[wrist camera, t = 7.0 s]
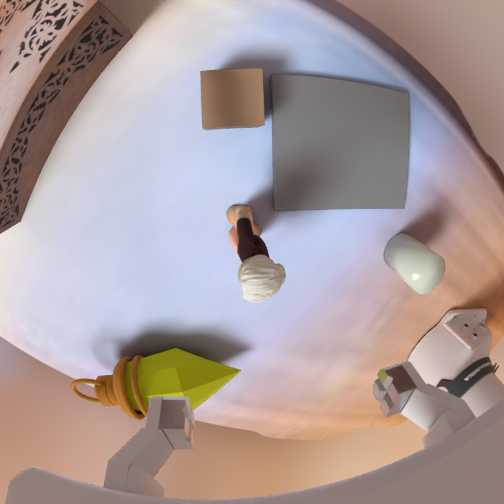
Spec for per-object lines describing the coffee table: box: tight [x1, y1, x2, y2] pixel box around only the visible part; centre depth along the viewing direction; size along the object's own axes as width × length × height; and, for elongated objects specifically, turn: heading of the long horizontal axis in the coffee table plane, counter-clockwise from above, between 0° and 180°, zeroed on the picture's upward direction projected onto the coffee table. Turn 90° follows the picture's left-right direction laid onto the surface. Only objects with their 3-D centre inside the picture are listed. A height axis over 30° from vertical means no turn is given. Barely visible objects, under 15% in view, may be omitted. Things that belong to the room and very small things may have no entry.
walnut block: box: [200, 69, 265, 130], centre depth 22 cm, size 5×5×5 cm
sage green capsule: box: [384, 233, 445, 294], centre depth 29 cm, size 5×5×7 cm
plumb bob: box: [71, 348, 241, 420], centre depth 32 cm, size 9×9×25 cm
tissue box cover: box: [0, 0, 133, 234], centre depth 16 cm, size 26×14×10 cm, turn 138°
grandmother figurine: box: [227, 205, 286, 302], centre depth 23 cm, size 8×4×13 cm, turn 29°
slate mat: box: [270, 74, 409, 211], centre depth 26 cm, size 16×14×1 cm
